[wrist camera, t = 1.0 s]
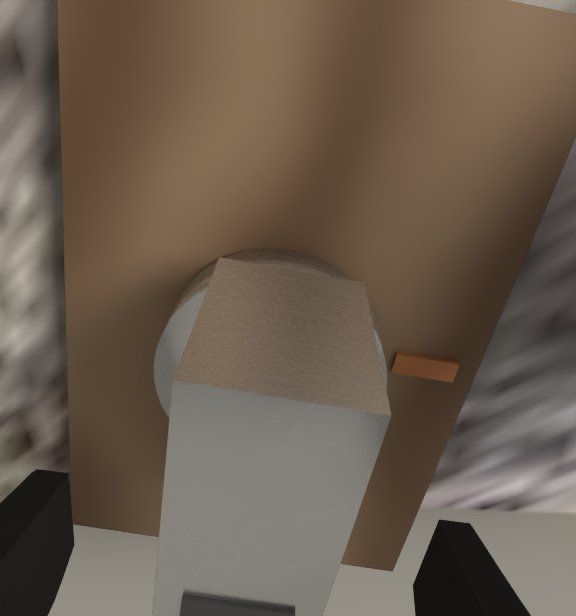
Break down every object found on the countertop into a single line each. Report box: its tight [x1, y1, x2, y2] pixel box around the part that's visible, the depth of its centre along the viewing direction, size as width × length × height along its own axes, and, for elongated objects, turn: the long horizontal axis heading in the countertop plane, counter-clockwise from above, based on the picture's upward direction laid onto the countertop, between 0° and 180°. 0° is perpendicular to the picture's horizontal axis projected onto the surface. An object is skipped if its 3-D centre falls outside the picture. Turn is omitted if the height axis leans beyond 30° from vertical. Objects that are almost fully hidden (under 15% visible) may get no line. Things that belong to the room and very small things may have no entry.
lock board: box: [57, 0, 576, 571], centre depth 17 cm, size 13×20×2 cm, turn 170°
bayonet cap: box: [152, 248, 391, 616], centre depth 13 cm, size 6×7×7 cm
